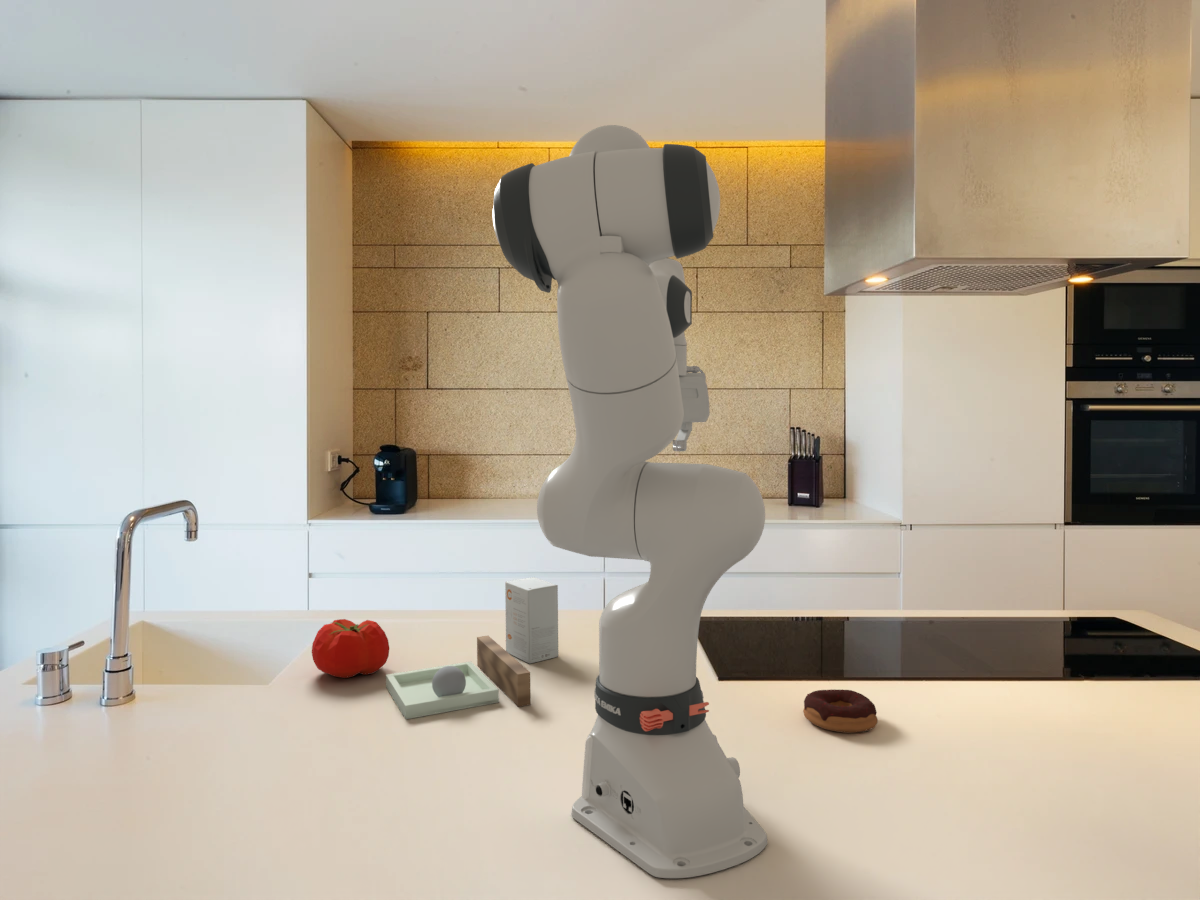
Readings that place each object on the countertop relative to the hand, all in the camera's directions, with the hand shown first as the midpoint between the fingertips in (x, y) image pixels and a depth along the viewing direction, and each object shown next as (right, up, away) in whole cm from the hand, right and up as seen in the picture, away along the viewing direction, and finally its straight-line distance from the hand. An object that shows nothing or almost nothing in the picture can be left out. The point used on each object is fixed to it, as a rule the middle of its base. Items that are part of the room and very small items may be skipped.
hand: (658, 452), depth 127 cm
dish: (-34, -38, -3) cm, 51 cm away
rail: (-25, -37, +2) cm, 45 cm away
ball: (-32, -35, -6) cm, 48 cm away
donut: (+25, -39, -13) cm, 48 cm away
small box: (-21, -36, +16) cm, 45 cm away
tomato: (-51, -37, +7) cm, 63 cm away
